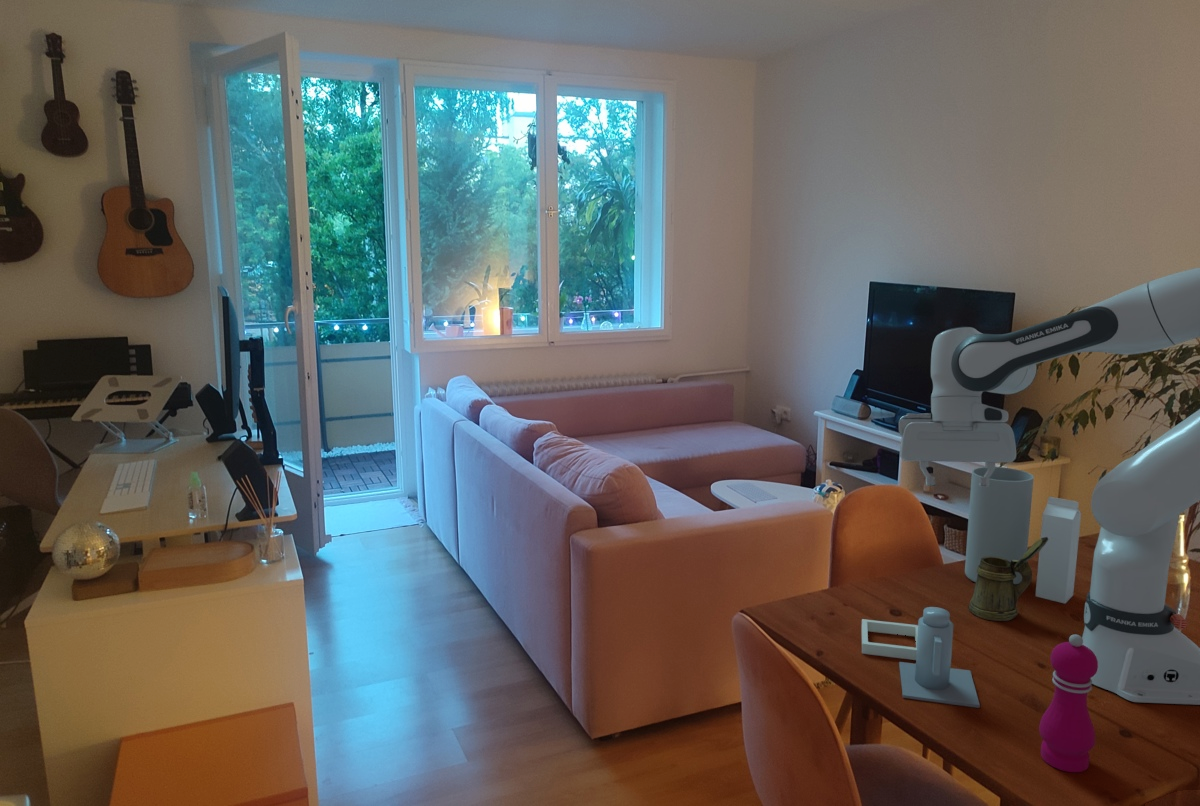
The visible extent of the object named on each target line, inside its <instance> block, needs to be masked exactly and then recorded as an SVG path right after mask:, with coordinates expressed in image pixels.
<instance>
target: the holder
mask: <svg viewBox="0 0 1200 806" xmlns="http://www.w3.org/2000/svg"><path fill="white" fill-rule="evenodd" d="M868 632H871V633H872V632H873V633H880V634H888V635H889V634H890V635H897V634H898V635H897V636H905V635H906V636H905V637H907V636H908V637H914V640H915V641H916V642H915V647H914V646H905V645H896V644H889V643H882V642H881V643H880V642H871V641H869V638H868V637H869V635H868ZM917 637H918V624H909V623H902V622H891V621H882V620H874V619H866V618H865V619H864V618H862V619H861V654H863V655H872V656H877V657H878V656H880V657H888V658H895V659H896V658H897V659H902V660H903V659H904V660H913V661H916V653H917Z"/></svg>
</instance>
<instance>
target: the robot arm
mask: <svg viewBox="0 0 1200 806" xmlns="http://www.w3.org/2000/svg"><path fill="white" fill-rule="evenodd" d="M1199 338H1200V267H1195V268H1191V269H1190V268H1189V269H1187V270H1183V271H1179V272H1176V273H1172V274H1169V275H1165V276H1162V277H1158V278H1156V279H1154V280H1151V281H1148V282H1145V283H1143V284H1142V283H1141V284H1139V285H1136V286H1135V287H1133V288H1129V289H1128V290H1124V291H1122V292H1120V293H1117V294H1116V295H1113V296H1111V297H1109V298H1106V299H1103V300H1102V301H1099V302H1097V303H1093V304H1092V305H1089V306H1087V307H1084V308H1082V309H1079V310H1077V311H1075V312H1072V313H1068V314H1066V315H1062V316H1059V317H1056V318H1052V319H1050V320H1047V321H1044V322H1041V323H1040V322H1039V323H1036V324H1034V325H1031V326H1027V327H1025V328H1022V329H1018V330H1015V331H1012V332H1008V333H1002V334H1001V333H999V334H998V333H997V334H995V333H994V334H992V333H982V332H980V331H978V330H977V329H976V328H974V327H971V326H960V327H958V326H957V327H953V328H949V329H946V330H943V331H941V332H940V333H938V334H937V335H936V336H935V338H934V340H933V342H932V348H931V356H930V378H931V381H932V393H931V395H930V408H931V409H930V411H931V412H930V413H929V412H927V413H911V412H910V413H906V415H903V416H901V417H900V419H899V420H898V423H897V424H898V433H899V435H900V436H901V439H900V447H899V457H900V458H901V459H902V461H904V462H919V469H920V471H921V472H922V473H923V475H924V477H925V485H926V486H930V487H931V486H936V476H932V475H931V474H930V473H929V471H928V470H927V468H929V467H930V465H929V462H947V463H948V462H949V463H950V462H953V463H956V462H960V463H961V462H962V463H966V462H967V463H984V467H985V468H989V469H988V470H987V472H986V474H985V475H984V477H979V481H980V483H979V487H989V477H990V476H991V475H992V473H993V472H994V470H995V467H996V463H1013V462H1014V461H1015V460H1016V459H1017V446H1016V438H1015V433H1014V431H1013V428H1012V427H1011V426H1010V425H1009V424H1008V423H1006V422H1008V421H1009V416H1010V415H1009V412H1008V411H1007V410H1005V409H1002V408H998V407H994V406H990V405H988V404H984V403H982V394H983V392H988V393H993V394H1001V395H1012V394H1017V393H1020V392H1022V391H1025V390H1026V389H1028V388H1029V387H1030V386H1031V385H1032V383H1033V382H1034V380H1035V378H1036V375H1037V373H1038V372H1037V370H1038V365H1039V364H1041V363H1044V362H1047V361H1048V362H1049V361H1050V360H1054V359H1057V358H1061V357H1063V356H1068V355H1073V354H1077V353H1106V354H1107V353H1108V354H1115V355H1127V356H1128V355H1130V356H1131V355H1138V354H1143V353H1149V352H1155V351H1159V350H1162V349H1167V348H1169V347H1170V348H1171V347H1173V346H1176V345H1178V344H1179V345H1180V344H1183V343H1185V342H1188V341H1190V340H1191V341H1192V340H1194V339H1199ZM1037 364H1038V365H1037ZM1199 501H1200V408H1199V409H1197V411H1195V412H1193V413H1192V414H1191V415H1189V416H1187V417H1186V418H1184V419H1183V420H1182V421H1181V422H1179V423H1178V424H1176V425H1175V426H1173V427H1171V428H1170V429H1169V430H1167V431H1166V432H1165V433H1163V434H1162V435H1161V436H1159V437H1158V438H1156V439H1155V440H1153V441H1152V442H1151V443H1149V444H1147V445H1146V446H1145V447H1144V448H1142V449H1141V450H1139V451H1138V452H1137V453H1136V454H1134V455H1132V456H1131V457H1128V458H1126V459H1125V460H1123V461H1122V462H1120V463H1119V464H1117V465H1116V466H1115V467H1114V468H1112V469H1111V470H1110V471H1108V472H1107V473H1106V474H1105V475H1104V476H1103V477H1101V478H1100V479H1099V480H1098V482H1097V483H1096V484H1095V486H1094V489H1093V491H1092V494H1091V501H1090V509H1091V513H1092V516H1093V518H1094V519H1095V521H1096V523H1097V524H1098V525H1099V526H1100V530H1099V534H1098V538H1097V542H1096V544H1095V548H1094V550H1093V560H1092V569H1091V578H1090V589H1089V591H1088V592H1087V593H1086V601H1085V603H1084V608H1083V609H1084V611H1083V621H1084V629H1083V633H1082V636H1081V637H1082V639H1083V644H1082V645H1084V646H1086V647H1088V648H1089V649H1090V650H1092V651H1093V653H1094V654H1095V656H1096V658H1097V661H1098V669H1097V672H1096V674H1095V675H1094V676H1093V677H1091V680H1092V684H1091V685H1094V686H1096V687H1099V688H1102V689H1104V690H1108V691H1109V692H1112V693H1114V694H1117V696H1119V697H1121V698H1123V699H1125V700H1127V701H1130V702H1133V703H1142V704H1143V703H1144V704H1145V703H1147V704H1148V703H1149V704H1169V705H1170V704H1171V705H1174V704H1175V705H1194V706H1195V705H1198V706H1199V705H1200V647H1199V646H1198V645H1197V644H1196V643H1195V642H1194V641H1192V640H1191V639H1190V638H1189V637H1187V636H1186V635H1185V634H1183V633H1182V631H1180V630H1184V629H1185V628H1187V627H1188V626H1187V625H1188V621H1187V620H1186V619H1185V618H1184V616H1183V615H1181V614H1178V613H1177V612H1176V610H1174V609H1173V607H1170V606H1169V605H1168V604H1167V603H1166V602H1165V601H1166V595H1167V586H1168V579H1169V578H1168V577H1169V570H1170V562H1171V559H1172V554H1173V550H1174V545H1175V539H1176V535H1177V529H1178V524H1179V520H1180V514H1181V513H1183V512H1184V511H1186V510H1188V509H1189V508H1190V507H1192V506H1193V505H1194V504H1196V503H1197V502H1199Z"/></svg>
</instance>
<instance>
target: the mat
mask: <svg viewBox="0 0 1200 806" xmlns="http://www.w3.org/2000/svg"><path fill="white" fill-rule="evenodd" d="M898 665H899V674H900V684H901V691H902V698H903V699H909V700H915V701H916V700H917V701H924V702H932V703H938V704H939V703H940V704H947V705H954V706H963V707H969V708H977V709H980V707H981V706H980V701H979V698H978V694H977V690H976V687H975V683H974V679H973V677H972V671H971V669H970V670H969V669H961V668H953V667H950V681H949V687H948V688H946V689H943V690H932V689H928V688H925V687H922V686H920V685H919V684H918V683H917V682H916V681H915V669H916V663H913V662H912V663H911V662H906V661H905V662H904V661H899V662H898Z"/></svg>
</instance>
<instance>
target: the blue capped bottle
mask: <svg viewBox="0 0 1200 806" xmlns="http://www.w3.org/2000/svg"><path fill="white" fill-rule="evenodd" d="M922 612H923V613H922V616H921V617H919V619H918V620H917V621H918V623H917V625H918V637H917V653H916V660H915V664H916V669H915V681H916V682H917V683H918V684H919V685H920V686H922V687H925V688H928V689H932V690H943V689H946V688H948V687H949V681H950V668H952V667H951V666H952V665H951V664H952V650H953V638H954V637H953V636H954V623H953V622H952V621H951V620H950V617H951V613H950V612H949V611H948V610H947V609H944V608H942V607H936V606H929V607H928V606H927V607H924V609H923V611H922Z"/></svg>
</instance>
